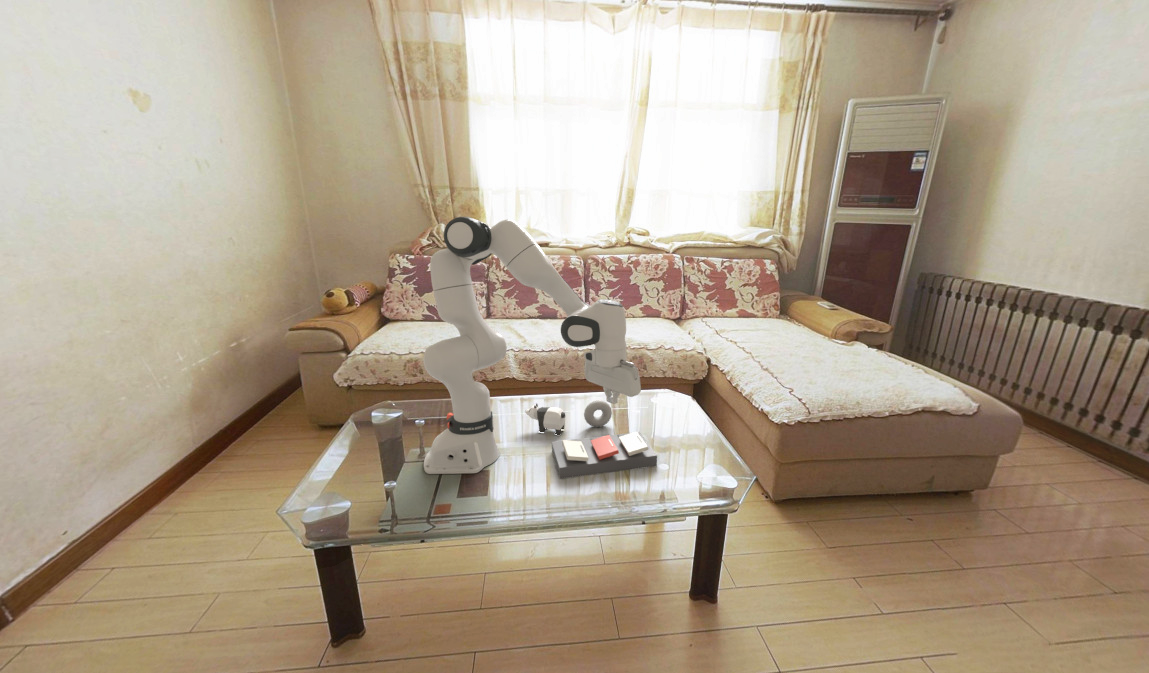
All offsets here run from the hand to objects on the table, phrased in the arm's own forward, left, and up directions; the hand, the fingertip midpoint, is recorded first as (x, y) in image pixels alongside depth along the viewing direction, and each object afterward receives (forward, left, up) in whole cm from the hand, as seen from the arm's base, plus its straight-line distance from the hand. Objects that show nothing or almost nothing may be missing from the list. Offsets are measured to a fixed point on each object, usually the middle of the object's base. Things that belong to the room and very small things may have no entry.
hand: (612, 402), depth 122 cm
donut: (+2, +23, -19) cm, 30 cm away
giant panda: (-16, +24, -19) cm, 35 cm away
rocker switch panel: (-2, +2, -19) cm, 19 cm away
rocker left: (-11, 0, -14) cm, 18 cm away
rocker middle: (-2, 0, -14) cm, 14 cm away
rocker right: (+7, 0, -14) cm, 15 cm away
